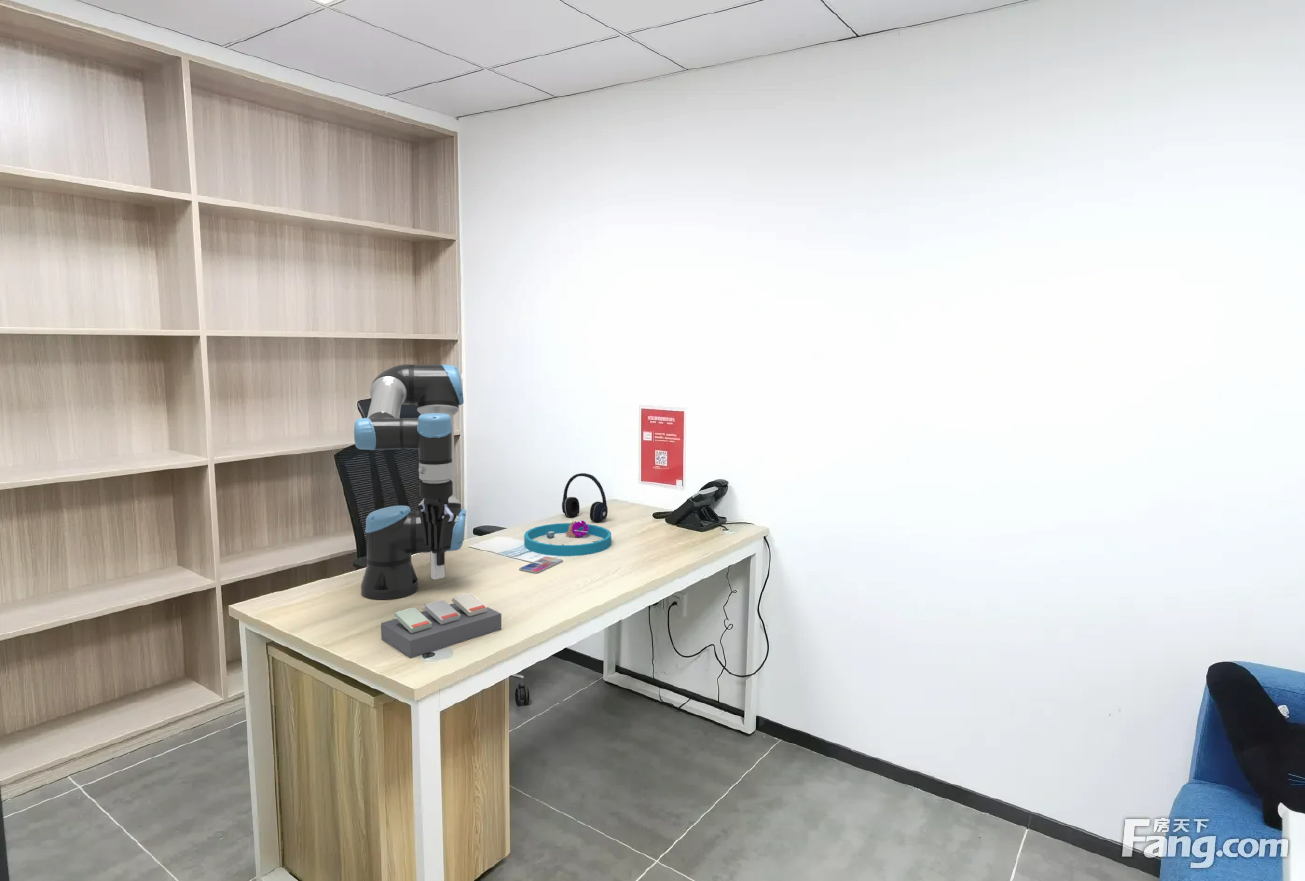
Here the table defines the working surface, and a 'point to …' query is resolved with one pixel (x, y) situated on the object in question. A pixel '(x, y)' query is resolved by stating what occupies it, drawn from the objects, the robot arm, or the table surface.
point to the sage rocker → (413, 620)
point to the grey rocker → (442, 611)
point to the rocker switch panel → (439, 632)
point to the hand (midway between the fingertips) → (437, 577)
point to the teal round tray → (571, 531)
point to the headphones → (572, 504)
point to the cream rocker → (469, 604)
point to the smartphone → (540, 565)
